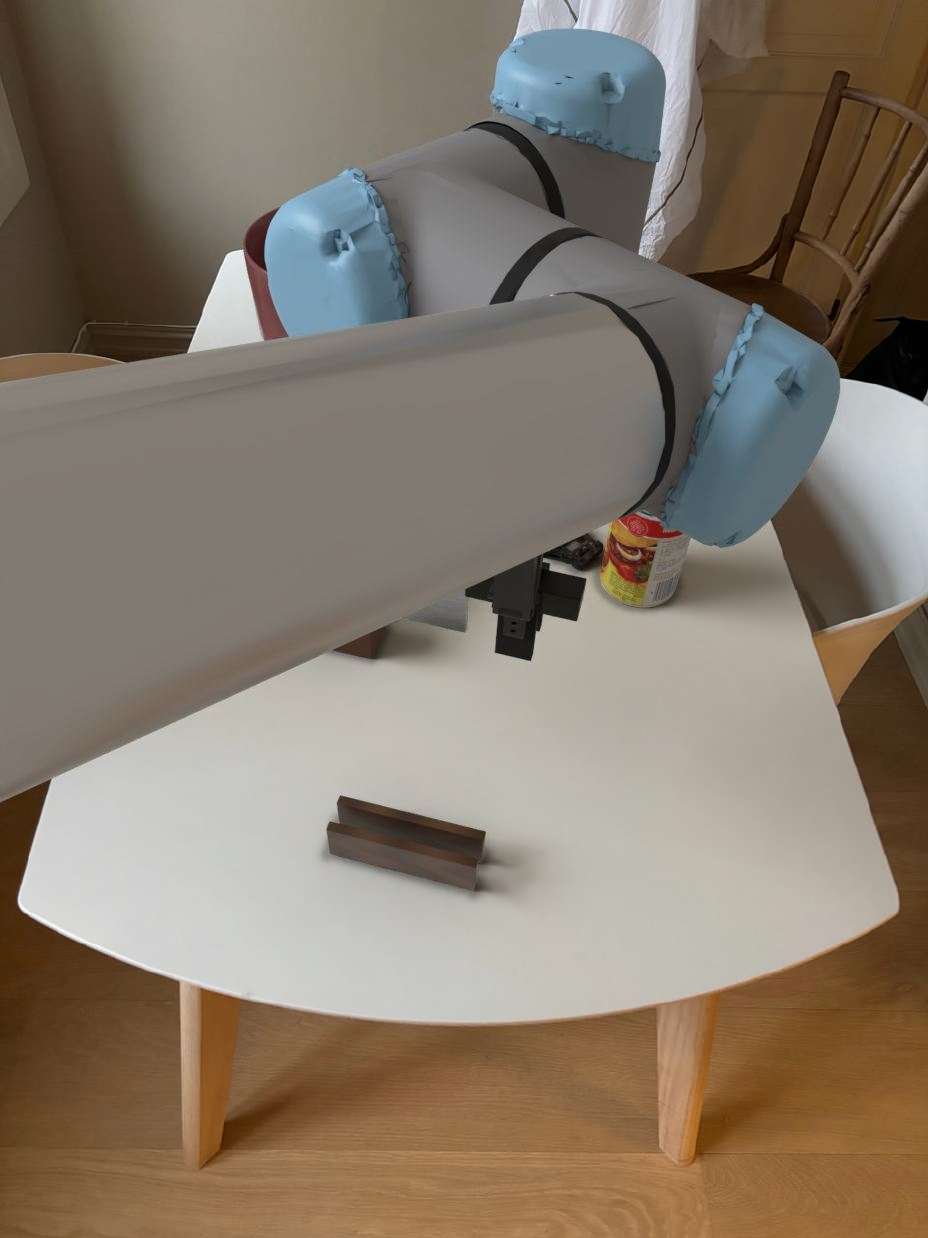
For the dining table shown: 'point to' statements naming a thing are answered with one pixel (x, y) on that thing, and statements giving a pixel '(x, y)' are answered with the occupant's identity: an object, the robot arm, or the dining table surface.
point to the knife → (588, 557)
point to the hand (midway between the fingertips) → (518, 638)
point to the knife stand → (407, 842)
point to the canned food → (642, 560)
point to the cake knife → (452, 612)
